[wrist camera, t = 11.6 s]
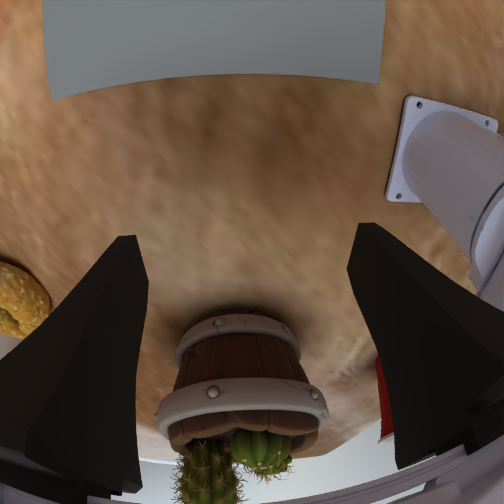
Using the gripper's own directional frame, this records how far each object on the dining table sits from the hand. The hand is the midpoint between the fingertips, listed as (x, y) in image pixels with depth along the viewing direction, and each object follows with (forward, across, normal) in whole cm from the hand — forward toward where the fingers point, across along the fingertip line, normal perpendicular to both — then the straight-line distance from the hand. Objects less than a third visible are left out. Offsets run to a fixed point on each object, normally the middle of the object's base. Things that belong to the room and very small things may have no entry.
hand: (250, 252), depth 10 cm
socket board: (+10, +1, -13) cm, 17 cm away
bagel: (+12, +23, +13) cm, 29 cm away
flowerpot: (+11, 0, +20) cm, 23 cm away
